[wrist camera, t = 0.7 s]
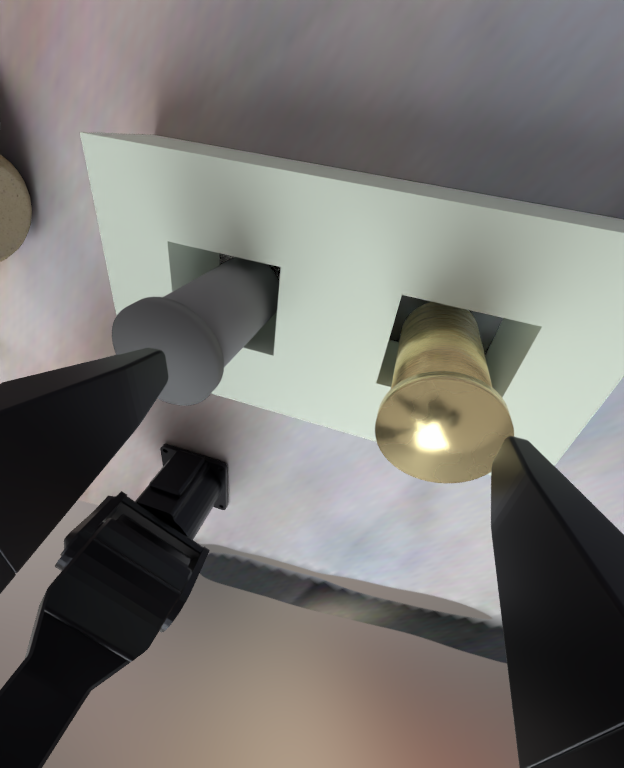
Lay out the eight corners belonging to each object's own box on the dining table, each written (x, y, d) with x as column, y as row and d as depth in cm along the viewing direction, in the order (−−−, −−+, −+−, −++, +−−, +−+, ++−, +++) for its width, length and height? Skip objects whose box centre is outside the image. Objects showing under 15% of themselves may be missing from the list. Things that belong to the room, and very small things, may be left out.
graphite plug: (283, 335, 20) (217, 417, 14) (214, 317, 21) (122, 389, 15) (290, 259, 18) (214, 319, 12) (212, 241, 18) (101, 290, 12)
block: (518, 427, 23) (536, 488, 19) (174, 334, 26) (127, 368, 22) (646, 223, 16) (720, 251, 12) (153, 134, 19) (79, 132, 15)
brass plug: (465, 381, 19) (480, 497, 13) (385, 361, 19) (363, 461, 13) (501, 306, 16) (541, 404, 10) (408, 285, 17) (393, 365, 11)
